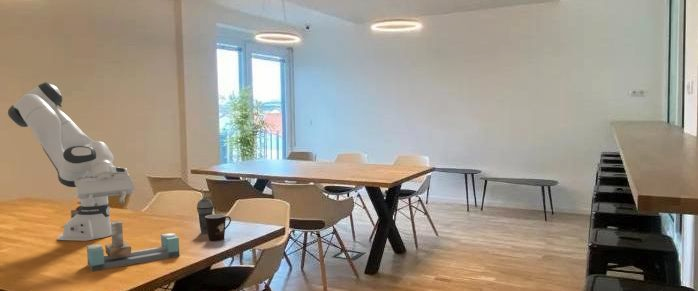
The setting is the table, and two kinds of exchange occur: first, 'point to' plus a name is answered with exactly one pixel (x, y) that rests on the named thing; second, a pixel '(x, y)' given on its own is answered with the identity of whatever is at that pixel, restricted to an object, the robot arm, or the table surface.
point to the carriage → (117, 242)
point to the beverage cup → (204, 212)
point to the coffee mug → (216, 226)
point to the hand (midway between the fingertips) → (109, 203)
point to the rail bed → (133, 254)
